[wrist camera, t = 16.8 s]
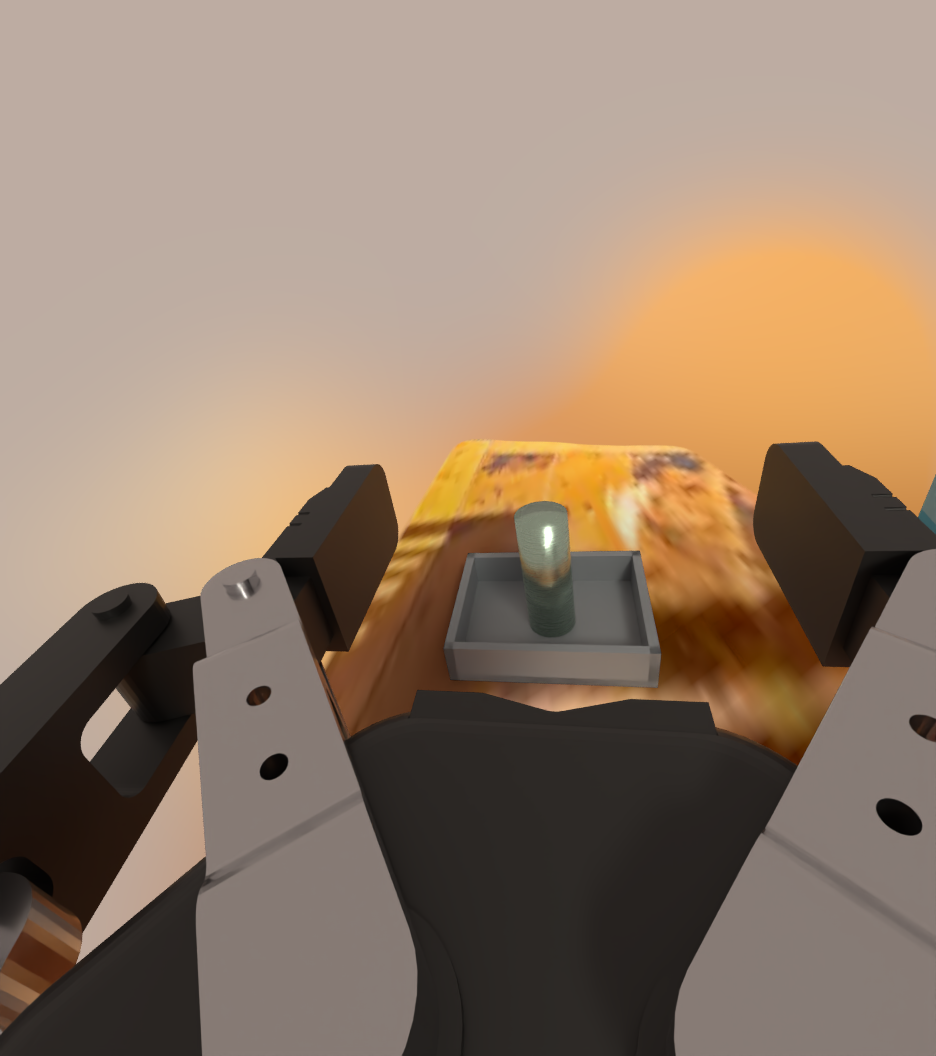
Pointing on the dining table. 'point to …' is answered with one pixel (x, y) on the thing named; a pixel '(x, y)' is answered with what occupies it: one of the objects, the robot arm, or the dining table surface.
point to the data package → (929, 508)
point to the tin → (546, 567)
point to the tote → (574, 658)
